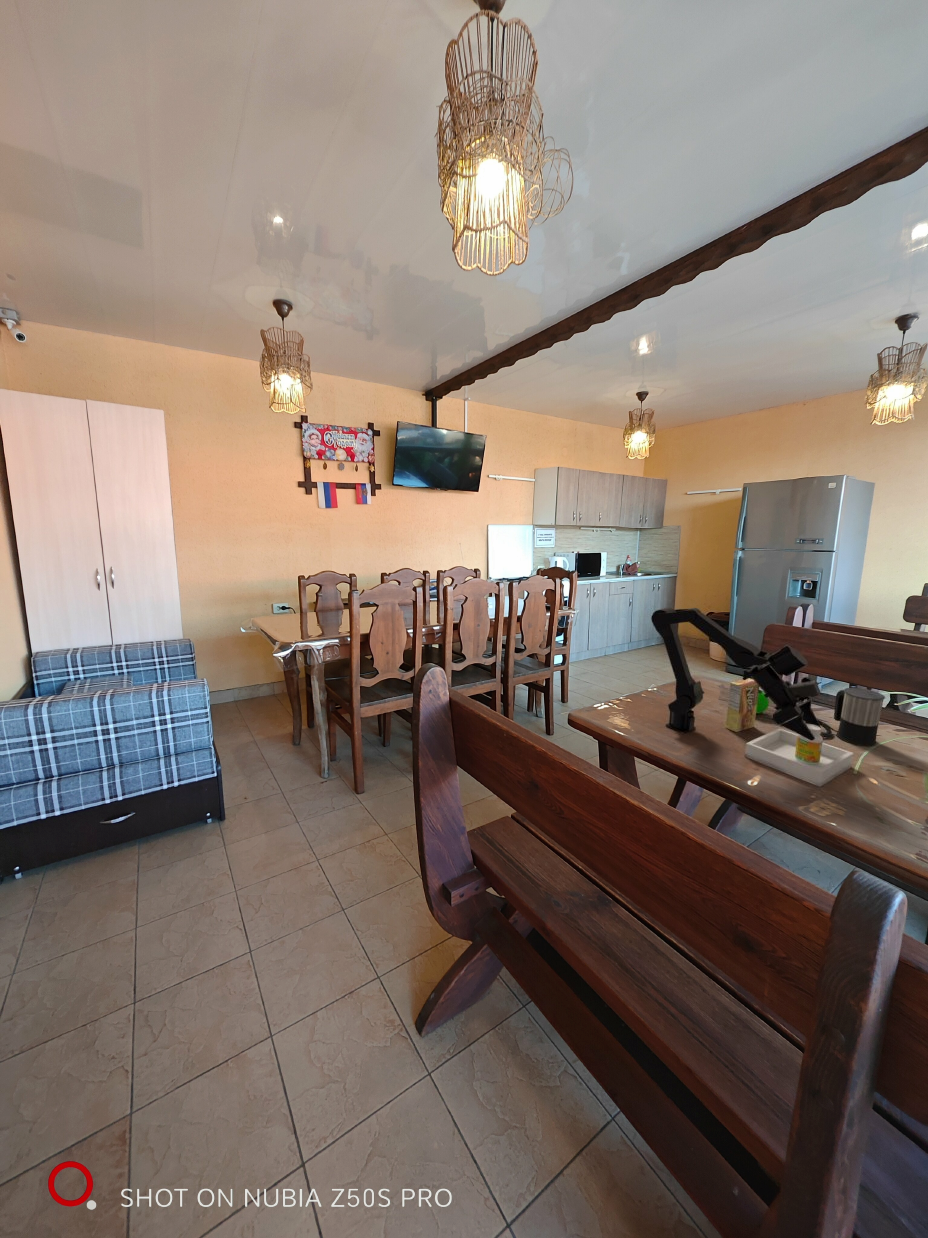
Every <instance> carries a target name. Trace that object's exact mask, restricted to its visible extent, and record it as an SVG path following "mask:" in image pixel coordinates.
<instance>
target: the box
mask: <svg viewBox="0 0 928 1238" xmlns="http://www.w3.org/2000/svg"><path fill="white" fill-rule="evenodd" d="M797 737H798V733H796V732H793V731H790V730H786V729H783V728H780V727H779V728H776V729H774V730H772V731H770V732H768V733H766V734H763V735H761V736H759V737H756V738H754V739H752V740H751V741H749V742H746V743H745V749H744V757H745V758H747V759H750V760H752V761H754V762H757V763H760V764H762V765H765V766H767V767H769V768H772V769H774V770H778V771H780V772H782V773H785V774H787V775H789V776H792V777H794V778H797V779H799V780H801V781H804V782H806V783H809V784H812V785H814V786H817V787H820V788H821V787H823V786H824V785H825V784H827V783H828V782H830V781H832V780H833V779H835V778H836V777H838V776H840V775H841V774H843V773H844V772H846V771H847V770H849V769H850V768H852V765H853V759H854V755H855V754H854V752H852V751H849V750H846V749H843V748H840V747H836V746H833V745H830V744H827V743H825V742H823V743H822V749H821V756H820V762H819V764H817V765H810V764H806V763H802V762H800V761H798V760H797V759H796V758H795V751H796V744H797Z"/></svg>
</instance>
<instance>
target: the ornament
mask: <svg viewBox="0 0 928 1238" xmlns="http://www.w3.org/2000/svg"><path fill="white" fill-rule="evenodd" d="M764 694H765V692H764V691H763V690H762V689H759V694H758V701H757V708H756V714H762V713H763V712H766V711H767V710H768V708H769V706H770V698H769V697H768V698H766V697H765V696H764Z"/></svg>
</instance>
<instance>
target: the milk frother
mask: <svg viewBox="0 0 928 1238" xmlns="http://www.w3.org/2000/svg"><path fill="white" fill-rule="evenodd" d="M885 699H886V696H885V695H884V694H882V693H880V692H878V691H874V690H870V689H866V688H860V687H847V688H844V689H841V690H839V691H838V692H836V694H835V701H834V702H835V703H834V713H833V720H835V721H837V722H839V725H838V730H837V729H835V728H832V727H831V726H830V725H828V724H827V723H825V722H823V721H822V720H820V719H817V720H818V722H819V724H820V726H821V728H824V730H825V731H826V732H825V733H822V732H821V733H820V734H819V735H821V736H822V738H830V737H831V736H832V734H833V732H834V733H835V732H836V736H837V737H838V739H840V740H842V741H844V742H847V743H850V744H854V745H857V746H862V747H872V746H873V747H874V746H876V745H877V737H878V736H877V735H878V728H879V724H880V719H881V718H880V717H881V714H882V709H883V704H884V700H885ZM804 722H805V721H804ZM805 724H808V723H806V722H805Z"/></svg>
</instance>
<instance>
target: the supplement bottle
mask: <svg viewBox="0 0 928 1238" xmlns="http://www.w3.org/2000/svg"><path fill="white" fill-rule="evenodd" d="M806 725H807V727H808V728H809V730H810V731H811V732H812V734H813V736H814V737H815V739H814V740H812V741H811V740H809V739H807V738H805V737H803V736H801V735H799V734H798V733H797V734H798V737H797V744H796V751H795V758H796V759H797V760H798V761H800V762H802V763H806V764H810V765H817V764H819V762H820V756H821V749H822V743H824V739H823V738H824V737H822V736H821V735H819V734H820V733H822V727H821V728H820V727H819V726H816V725H813V724H806Z"/></svg>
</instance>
